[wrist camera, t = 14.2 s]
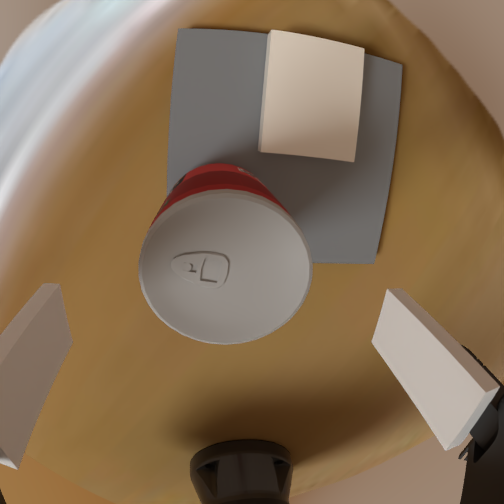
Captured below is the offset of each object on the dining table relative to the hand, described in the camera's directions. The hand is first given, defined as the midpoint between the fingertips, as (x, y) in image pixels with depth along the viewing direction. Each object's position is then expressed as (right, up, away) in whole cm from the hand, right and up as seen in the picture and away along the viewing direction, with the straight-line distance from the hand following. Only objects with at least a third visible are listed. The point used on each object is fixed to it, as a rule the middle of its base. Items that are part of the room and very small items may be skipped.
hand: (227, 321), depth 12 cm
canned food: (-2, +6, +12) cm, 14 cm away
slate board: (+4, +11, +12) cm, 17 cm away
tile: (+5, +10, +11) cm, 15 cm away
